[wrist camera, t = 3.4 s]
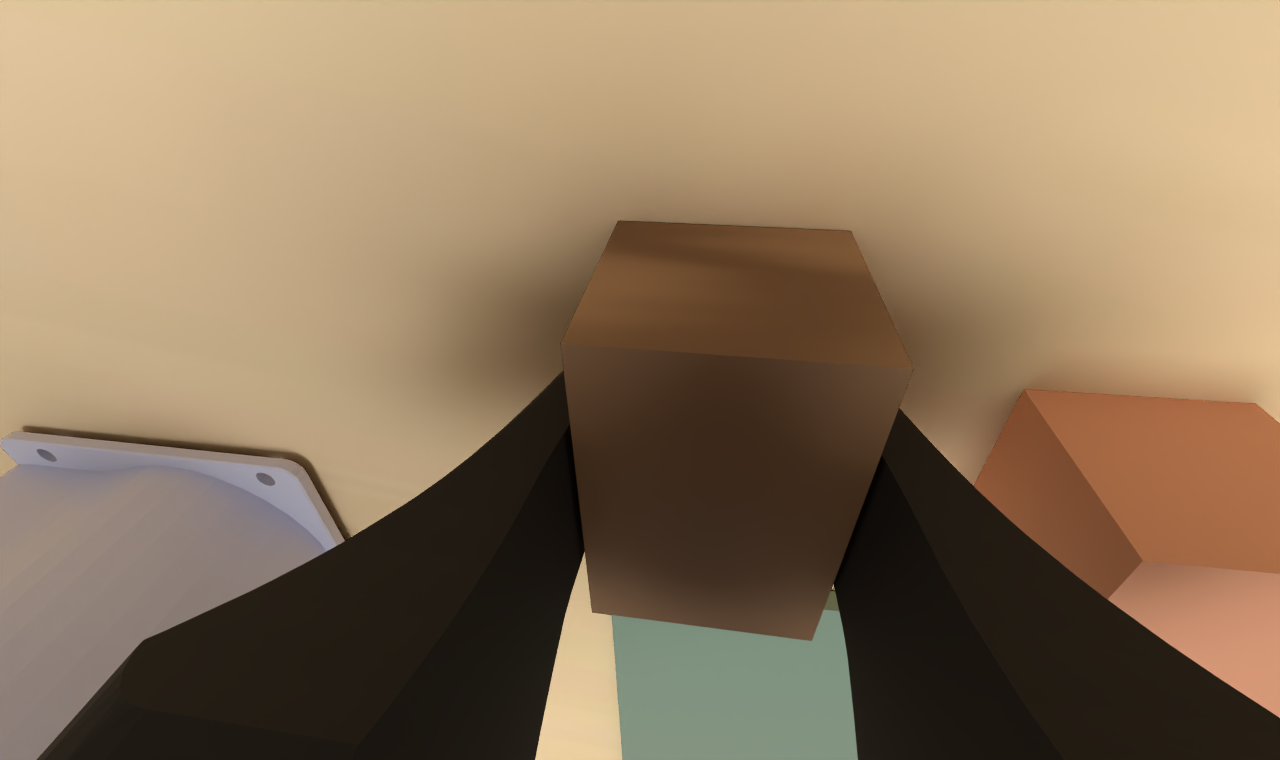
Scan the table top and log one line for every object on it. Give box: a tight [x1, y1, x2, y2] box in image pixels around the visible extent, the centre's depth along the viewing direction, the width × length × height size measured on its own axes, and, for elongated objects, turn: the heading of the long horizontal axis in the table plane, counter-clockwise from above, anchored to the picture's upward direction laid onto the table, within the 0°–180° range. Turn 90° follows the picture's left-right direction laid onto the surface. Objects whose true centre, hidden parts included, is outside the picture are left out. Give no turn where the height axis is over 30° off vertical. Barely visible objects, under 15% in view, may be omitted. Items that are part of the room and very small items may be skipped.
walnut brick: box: [561, 221, 913, 641], centre depth 10 cm, size 4×6×4 cm, turn 0°
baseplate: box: [612, 591, 858, 760], centre depth 20 cm, size 13×17×1 cm
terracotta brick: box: [974, 389, 1280, 717], centre depth 11 cm, size 4×6×4 cm, turn 1°
